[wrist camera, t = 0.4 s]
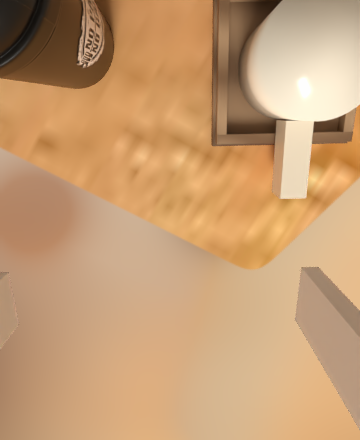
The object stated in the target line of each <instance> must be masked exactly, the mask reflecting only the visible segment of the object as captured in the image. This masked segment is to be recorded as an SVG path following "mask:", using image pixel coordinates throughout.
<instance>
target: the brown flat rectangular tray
mask: <svg viewBox="0 0 360 440" xmlns="http://www.w3.org/2000/svg"><path fill="white" fill-rule="evenodd" d="M281 1H282V0H213V68H212V146H238V145H275V136H276V121H277V120H282V119H273V118H269V117H266V116H264V115H262V114H260V113H258V112H257V111H255V110H254V109H253V108H252V107H251V106H250V105H249V104H248V102H247V101H246V99H245V98H244V96H243V94H242V91H241V88H240V85H239V79H238V64H239V59H240V55H241V52H242V49H243V47H244V45H245V43H246V41H247V39H248V38H249V36H250V35H251V34H252V32H253V31H254V30H255V29H256V28H257V27H258V26H259V25H260V24H261V23H262V22H263V20H264V19H265V18H266V17H267V16H268V15H269V14H270V13H271V12H272V11H273V10H274V9H275V8H276V7H277V6H278V4H279V3H280V2H281ZM355 114H356V108H354V109H353V110H351V111H350V112H348V113H346V114H344V115H342V116H340V117H337V118H334V119H330V120H326V121H314V126H313V136H312V144H327V143H347V141H352V134H353V128H354V121H355Z"/></svg>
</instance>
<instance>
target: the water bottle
mask: <svg viewBox="0 0 360 440" xmlns="http://www.w3.org/2000/svg"><path fill="white" fill-rule="evenodd" d="M113 53H114V43H113V36H112V33H111V30H110V27H109V25H108V23H107V21H106V19H105V18H104V16H103V15H102V13H101V11H100V10H99V8H98V7H97V5H96V3H95V1H94V0H0V78H3V79H10V80H17V81H24V82H31V83H38V84H45V85H52V86H59V87H66V88H73V89H81V88H86V87H89V86H92V85H94V84H95V83H97V82H98V81H100V80H101V79H102V78H103V77H104V75H105V74H106V73H107V71H108V69H109V67H110V65H111V62H112V59H113Z"/></svg>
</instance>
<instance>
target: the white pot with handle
mask: <svg viewBox="0 0 360 440" xmlns="http://www.w3.org/2000/svg"><path fill="white" fill-rule="evenodd" d="M238 79H239V85H240V88H241V91H242V94H243V96H244V98H245V99H246V101H247V102H248V104H249V105H250V106H251V107H252V108H253V109H254V110H255V111H257V112H258V113H260V114H262V115H264V116H266V117H269V118H273V119H282V120H277V121H276V136H275V151H274V166H273V180H272V193H274V194H275V195H276V196H277V197H279V198H280V199H293V198H306V194H307V184H308V174H309V165H310V155H311V145H312V136H313V126H314V121H326V120H330V119H334V118H337V117H340V116H342V115H344V114H346V113H348V112H350V111H351V110H353V109H354V108H356V107H357V106H358V105H359V104H360V0H282V1H281V2H280V3H279V4H278V6H277V7H276V8H275V9H274V10H273V11H272V12H271V13H270V14H269V15H268V16H267V17H266V18H265V19H264V20H263V22H262V23H261V24H260V25H259V26H258V27H257V28H256V29H255V30H254V31H253V32H252V34H251V35H250V36H249V38H248V39H247V41H246V43H245V45H244V47H243V49H242V52H241V55H240V59H239V64H238Z"/></svg>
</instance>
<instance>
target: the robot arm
mask: <svg viewBox="0 0 360 440" xmlns="http://www.w3.org/2000/svg"><path fill="white" fill-rule="evenodd" d="M295 320H296V322H297V324H298V325H299V327H300V329H301V330H302V332H303V334H304V336H305V337H306V339H307V341H308V342H309V344H310V346H311V347H312V349H313V351H314V353H315V354H316V356H317V358H318V359H319V361H320V363H321V365H322V366H323V368H324V370H325V371H326V373H327V375H328V376H329V378H330V380H331V381H332V383H333V385H334V387H335V388H336V390H337V392H338V394H339V395H340V397H341V399H342V400H343V402H344V404H345V405H346V407H347V409H348V411H349V412H350V414H351V416H352V417H353V419H354V421H355V423H356V424H357V426H358V427H359V429H360V311H359V310H358V309H357V307H356V306H354V305H353V303H352V302H351V301H350V300H349V299H348V298H347V297H346V296H345V295H344V294H343V293H342V292H341V291H340V290H339V288H338V287H337V286H336V285H335V284H334V283H333V282H332V281H331V280H330V279H329V278H328V277H327V276H326V275H325V274H324V273H323V272H322V271H321V270H320V268H319V267H302V268H301V275H300V283H299V292H298V301H297V309H296V318H295ZM18 325H19V322H18V317H17V312H16V307H15V302H14V297H13V292H12V287H11V282H10V277H9V273H8V272H0V349H1V348H2V346H3V345H4V344H5V342H6V341H7V339H8V338H9V337H10V336H11V334H12V333H13V332H14V331H15V329H16V328H17V326H18Z"/></svg>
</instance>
